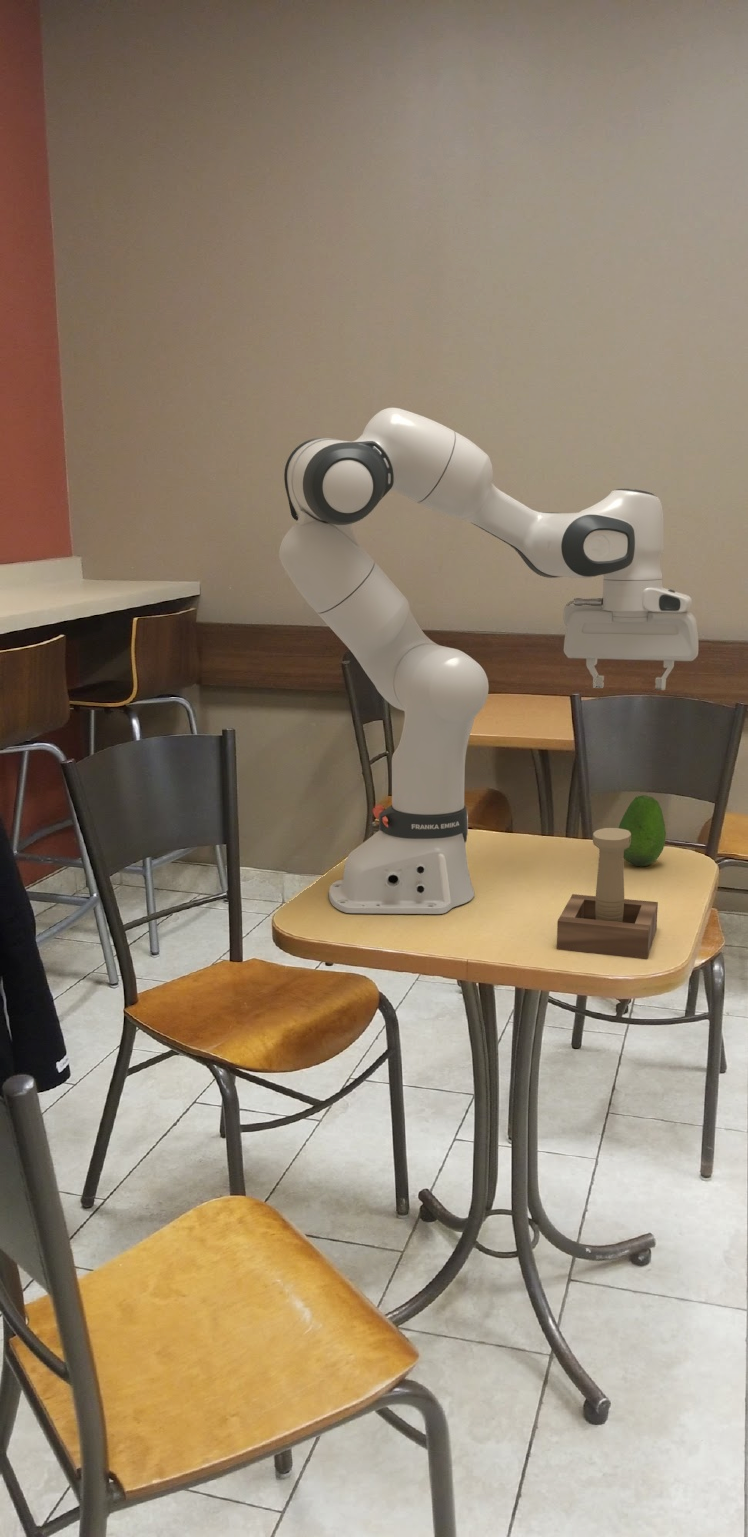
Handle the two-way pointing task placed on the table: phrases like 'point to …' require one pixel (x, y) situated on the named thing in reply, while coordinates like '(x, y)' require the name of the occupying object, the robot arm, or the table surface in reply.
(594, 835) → the handle
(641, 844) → the fruit
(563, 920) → the socket board
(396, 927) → the table surface
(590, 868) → the table surface
